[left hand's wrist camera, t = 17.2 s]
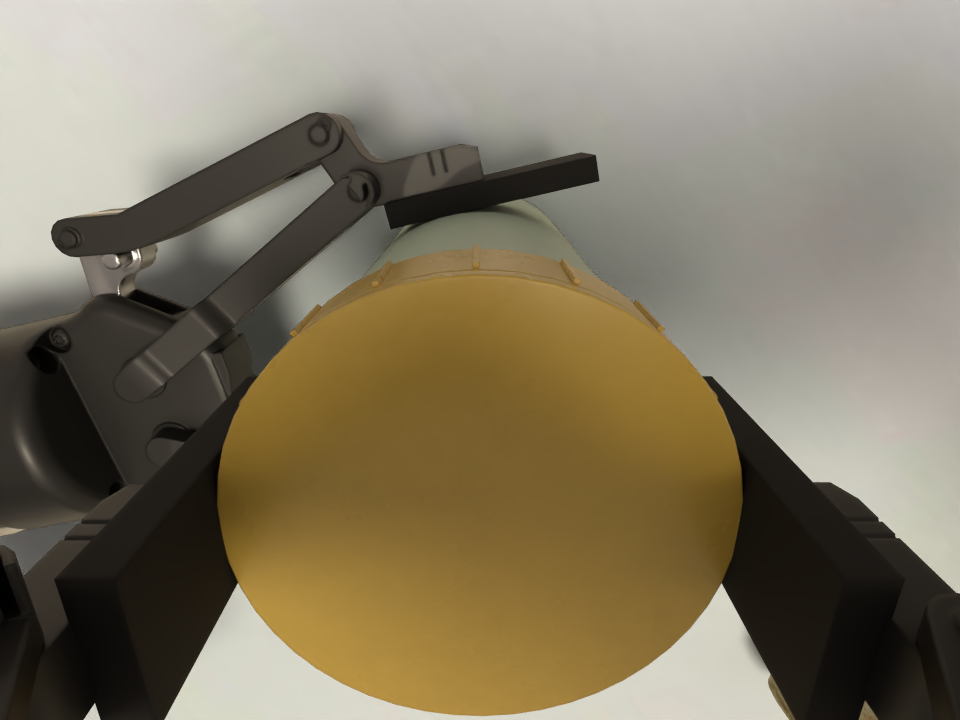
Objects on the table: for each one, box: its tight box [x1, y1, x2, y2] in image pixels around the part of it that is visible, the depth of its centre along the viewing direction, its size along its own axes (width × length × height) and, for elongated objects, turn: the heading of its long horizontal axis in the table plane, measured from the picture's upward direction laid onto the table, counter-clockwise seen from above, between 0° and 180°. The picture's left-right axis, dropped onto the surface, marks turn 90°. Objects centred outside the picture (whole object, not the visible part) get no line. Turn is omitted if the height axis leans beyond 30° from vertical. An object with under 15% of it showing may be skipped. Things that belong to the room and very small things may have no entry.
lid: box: [217, 245, 743, 716], centre depth 11 cm, size 9×9×2 cm
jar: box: [363, 199, 597, 278], centre depth 19 cm, size 9×9×17 cm
